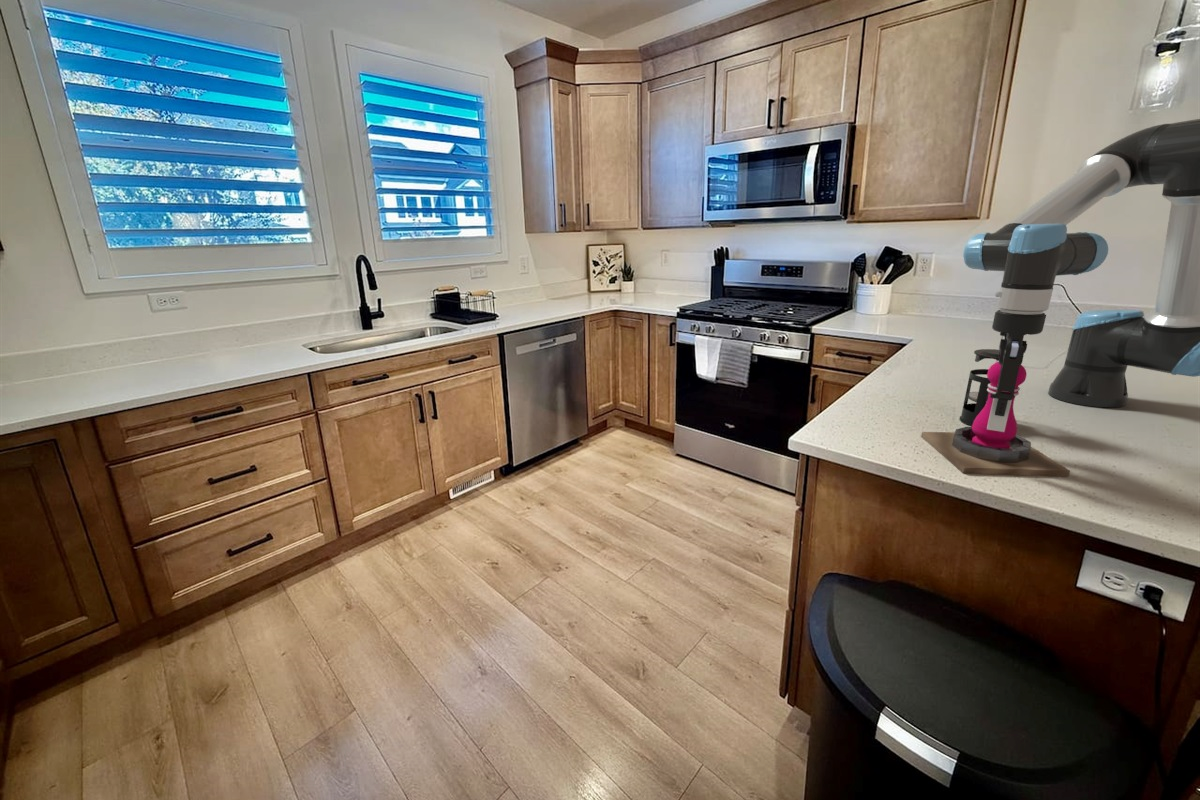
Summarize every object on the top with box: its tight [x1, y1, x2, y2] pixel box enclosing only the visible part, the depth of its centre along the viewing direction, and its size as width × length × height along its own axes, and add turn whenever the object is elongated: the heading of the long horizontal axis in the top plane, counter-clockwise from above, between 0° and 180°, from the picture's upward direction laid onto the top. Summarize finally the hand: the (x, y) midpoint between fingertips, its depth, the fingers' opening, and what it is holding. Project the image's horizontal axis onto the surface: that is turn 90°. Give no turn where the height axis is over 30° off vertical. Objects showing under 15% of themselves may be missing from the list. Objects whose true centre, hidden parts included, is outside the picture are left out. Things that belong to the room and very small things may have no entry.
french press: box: [958, 332, 1005, 427], centre depth 118 cm, size 12×9×23 cm
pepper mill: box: [971, 361, 1027, 448], centre depth 101 cm, size 7×7×20 cm
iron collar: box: [952, 426, 1032, 463], centre depth 104 cm, size 12×12×2 cm
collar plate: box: [920, 431, 1071, 477], centre depth 105 cm, size 18×18×1 cm
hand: (995, 421), depth 103 cm, fingers open, 10 cm apart
